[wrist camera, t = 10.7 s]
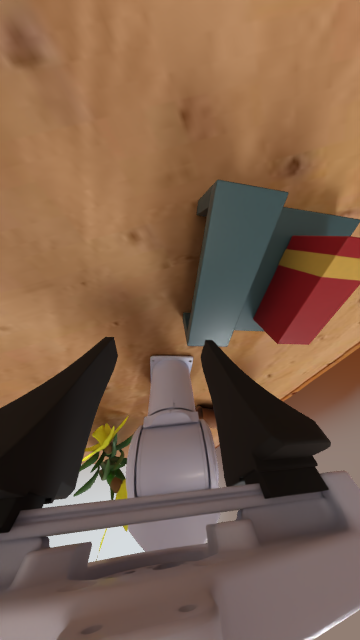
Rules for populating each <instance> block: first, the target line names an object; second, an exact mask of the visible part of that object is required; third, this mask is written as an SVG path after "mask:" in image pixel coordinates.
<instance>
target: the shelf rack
mask: <svg viewBox="0 0 360 640" xmlns="http://www.w3.org/2000/svg"><path fill="white" fill-rule="evenodd" d="M287 196H288V192H284V191H279V190H273V189H268V188H262V187H256V186H251V185H245V184H240V183H234V182H229V181H223V180H217V181H216V182H215V183H214V184H213V185H212V186H211V187H210V188H209V189H208V190H207V192H206V193H205V194H204V195H203V196H202V197H201V198H200V199H199V201H198V207H197V215H198V216H205V217H207V219H206V225H205V231H204V237H203V243H202V249H201V255H200V261H199V267H198V273H197V279H196V284H195V290H194V296H193V302H192V308H191V313H183V324H184V329H185V335H186V341H187V345H188V346H204V343H205V340H213V341H214V342H215V343H216V344H217V345H218V346H220V347H227V346H228V344H229V341H230V339H231V336H232V334H233V331H234V330H244V331H264V330H263V329H262V328H261V327H260V326H259V325H258V324H257V323H256V322H255V321H254V320H253V318H254V316H255V314H256V312H257V310H258V308H259V306H260V303H261V301H262V299H263V297H264V295H265V293H266V291H267V289H268V287H269V284H270V282H271V280H272V278H273V276H274V274H275V272H276V270H277V267H278V264H279V262H280V260H281V258H282V256H283V254H284V252H285V250H286V248H287V246H288V244H289V242H290V240H291V238H292V236H351V235H352V233H353V232H354V230H355V229H356V227H357V226H358V224H359V223H360V220H359V219H353V218H347V217H341V216H335V215H329V214H323V213H317V212H311V211H305V210H299V209H293V208H287V207H283V206H284V204H285V201H286V199H287Z"/></svg>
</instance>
